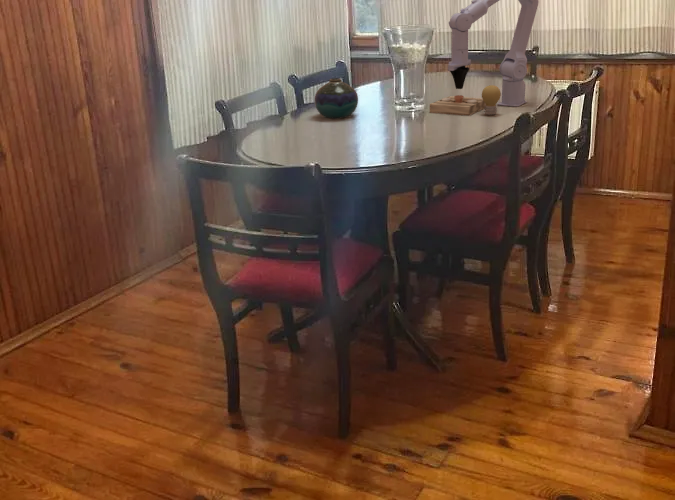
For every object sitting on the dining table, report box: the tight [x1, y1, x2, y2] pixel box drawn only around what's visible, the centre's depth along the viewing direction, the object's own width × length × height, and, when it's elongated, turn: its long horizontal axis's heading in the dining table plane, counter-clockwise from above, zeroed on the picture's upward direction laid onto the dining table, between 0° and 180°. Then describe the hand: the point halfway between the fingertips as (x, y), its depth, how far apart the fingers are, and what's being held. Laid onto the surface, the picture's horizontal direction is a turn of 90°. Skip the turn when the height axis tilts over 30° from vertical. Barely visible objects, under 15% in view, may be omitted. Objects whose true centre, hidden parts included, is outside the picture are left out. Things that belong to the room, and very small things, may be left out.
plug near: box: [467, 100, 476, 104], centre depth 261 cm, size 3×3×3 cm
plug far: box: [441, 97, 451, 102], centre depth 267 cm, size 3×3×3 cm
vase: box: [314, 77, 359, 119], centre depth 260 cm, size 15×15×13 cm
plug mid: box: [453, 94, 465, 103], centre depth 263 cm, size 3×3×3 cm
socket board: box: [429, 95, 486, 117], centre depth 264 cm, size 16×15×3 cm
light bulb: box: [481, 84, 502, 116], centre depth 253 cm, size 6×6×10 cm
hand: (459, 88), depth 262 cm, fingers closed
